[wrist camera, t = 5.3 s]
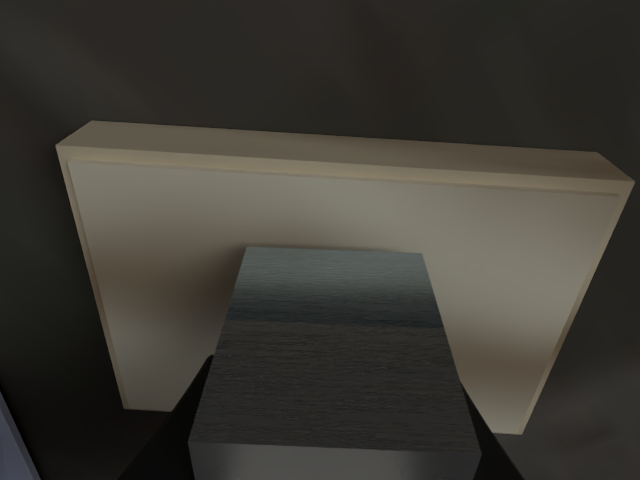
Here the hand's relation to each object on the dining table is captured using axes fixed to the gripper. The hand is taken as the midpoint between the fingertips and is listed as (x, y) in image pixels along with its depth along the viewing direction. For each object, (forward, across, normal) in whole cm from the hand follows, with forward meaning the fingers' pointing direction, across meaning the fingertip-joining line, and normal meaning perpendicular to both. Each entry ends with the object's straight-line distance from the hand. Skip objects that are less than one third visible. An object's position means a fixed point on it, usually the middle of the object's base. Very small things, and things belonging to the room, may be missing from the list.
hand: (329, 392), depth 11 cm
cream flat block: (+4, 0, 0) cm, 4 cm away
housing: (+2, 0, 0) cm, 2 cm away
